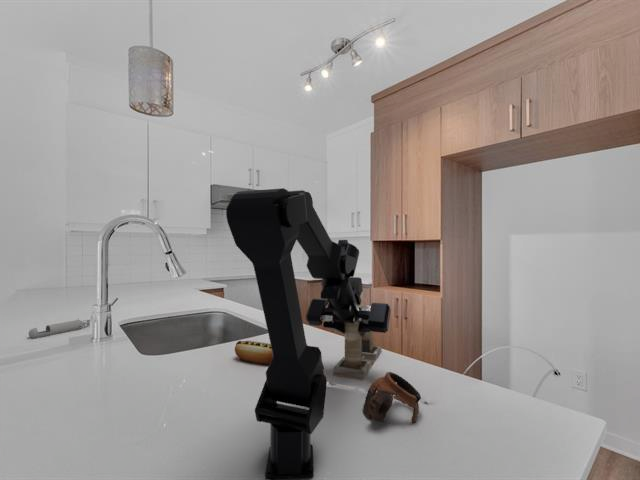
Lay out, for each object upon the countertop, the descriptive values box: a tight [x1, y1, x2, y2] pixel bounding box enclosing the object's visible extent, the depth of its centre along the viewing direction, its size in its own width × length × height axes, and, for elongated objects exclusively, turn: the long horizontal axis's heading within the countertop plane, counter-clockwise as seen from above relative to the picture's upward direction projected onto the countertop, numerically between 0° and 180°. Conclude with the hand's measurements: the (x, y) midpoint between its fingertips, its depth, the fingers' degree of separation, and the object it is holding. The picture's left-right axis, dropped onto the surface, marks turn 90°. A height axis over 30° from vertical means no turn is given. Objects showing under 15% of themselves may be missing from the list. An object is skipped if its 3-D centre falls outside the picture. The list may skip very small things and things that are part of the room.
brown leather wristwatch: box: [362, 371, 422, 423], centre depth 57 cm, size 12×10×8 cm
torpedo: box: [28, 319, 91, 339], centre depth 113 cm, size 18×5×7 cm, turn 152°
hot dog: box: [234, 340, 273, 365], centre depth 85 cm, size 5×13×5 cm, turn 67°
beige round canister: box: [344, 322, 362, 368], centre depth 76 cm, size 4×4×13 cm
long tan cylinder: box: [358, 304, 374, 353], centre depth 87 cm, size 4×4×13 cm
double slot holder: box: [332, 344, 383, 381], centre depth 82 cm, size 21×7×3 cm, turn 158°
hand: (354, 333), depth 77 cm, fingers closed on beige round canister, 4 cm apart
